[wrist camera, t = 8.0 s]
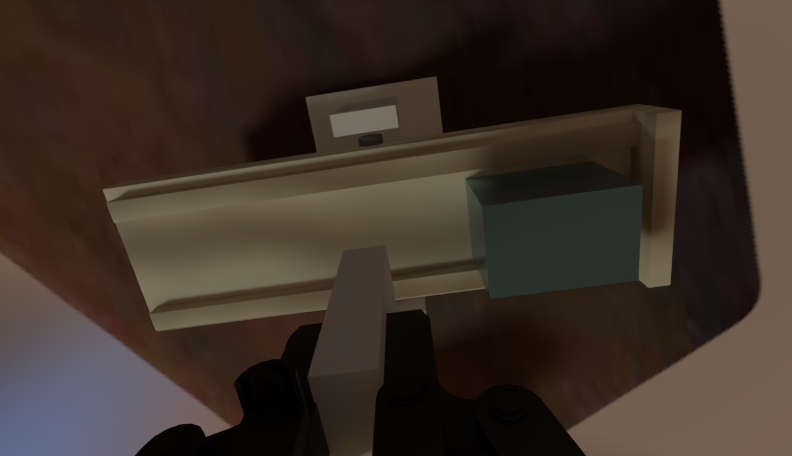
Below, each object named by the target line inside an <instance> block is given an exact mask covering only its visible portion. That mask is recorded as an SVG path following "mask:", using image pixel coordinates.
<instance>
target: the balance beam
mask: <svg viewBox="0 0 792 456" xmlns="http://www.w3.org/2000/svg"><path fill="white" fill-rule="evenodd" d="M681 114H682V110H676V109H669V108H662V107H656V106H649V105H642V104H634V105H627V106H620V107H614V108H607V109H601V110H594V111H587V112H581V113H574V114H568V115H561V116H554V117H548V118H541V119H534V120H528V121H521V122H515V123H508V124H501V125H495V126H488V127H482V128H475V129H468V130H462V131H455V132H449V133H442V134H435V135H429V136H422V137H415V138H409V139H402V140H396V141H389V142H383V138H382V134H370V135H365V136H361V137H359V138H358V141H359V146H356V147H349V148H343V149H336V150H330V151H323V152H316V153H310V154H303V155H296V156H290V157H283V158H277V159H270V160H263V161H257V162H250V163H244V164H237V165H230V166H224V167H217V168H211V169H204V170H197V171H191V172H184V173H177V174H171V175H164V176H158V177H151V178H144V179H138V180H131V181H125V182H120V183H117V184H115V185H113V186H110V187H108V188H105V189H103V192H104V194H105V197H106V199H107V203H106V204H107V206H108V209H109V211H110V214H111V216H112V219H113V222H114V223H116V225H117V228H118V230H119V233H120V236H121V238H122V241H123V243H124V246H125V249H126V251H127V254H128V256H129V259H130V261H131V264H132V267H133V269H134V272H135V274H136V277H137V280H138V282H139V285H140V287H141V290H142V293H143V295H144V298H145V300H146V303H147V305H148V308H149V311H150V314H149V315H150V317H151V320H152V322H153V325H154V327H155V330H156V331H165V330H173V329H180V328H188V327H196V326H203V325H211V324H218V323H226V322H233V321H241V320H249V319H256V318H264V317H271V316H279V315H286V314H294V313H302V312H309V311H317V310H324V309H327V306H328V303H329V299H330V296H331V292H332V289H333V285H334V282H335V278H336V275H337V271H338V268H339V264H340V261H341V257H342V254H343V251H344V250H351V249H359V248H366V247H373V246H380V245H386V248H387V254H388V260H389V265H390V271H391V277H392V283H393V289H394V294H395V300H400V299H408V298H415V297H423V296H430V295H438V294H445V293H453V292H461V291H468V290H476V289H483V288H485V286H484V284H483V281H482V279H481V276H480V274H479V271H478V269H477V266H476V264H475V261H474V259H473V256H472V249H471V238H470V227H469V217H468V206H467V195H466V184H465V179H466V178H473V177H480V176H487V175H494V174H502V173H509V172H516V171H523V170H530V169H538V168H545V167H552V166H559V165H566V164H574V163H581V162H588V161H594V162H596V163H598V164H601V165H603V166H605V167H607V168H609V169H611V170H613V171H616V172H618V173H620V174H622V175H624V176H626V177H628V178H630V179H633V180H635V181H637V182H639V183H641V184H643V197H642V218H641V240H640V261H639V280H640V281H641V282H642V283H644V284H645V285H646V286H647V287H648V288H650V287H658V286H665V285H670V280H671V265H672V249H673V234H674V219H675V204H676V189H677V174H678V159H679V144H680V129H681Z"/></svg>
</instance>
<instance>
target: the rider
mask: <svg viewBox="0 0 792 456" xmlns="http://www.w3.org/2000/svg"><path fill="white" fill-rule="evenodd" d="M465 184H466V195H467V206H468V217H469V227H470V238H471V249H472V256H473V259H474V261H475V264H476V266H477V269H478V271H479V274H480V276H481V279H482V281H483V284H484V286H485V289H486V291H487V294H488V296H489V299H492V298H500V297H508V296H516V295H524V294H532V293H540V292H548V291H556V290H564V289H572V288H580V287H588V286H596V285H604V284H612V283H620V282H628V281H636V280H639V261H640V240H641V218H642V197H643V184H641V183H639V182H637V181H635V180H633V179H630V178H628V177H626V176H624V175H622V174H620V173H618V172H616V171H613V170H611V169H609V168H607V167H605V166H603V165H601V164H598V163H596V162H594V161H588V162H581V163H574V164H566V165H559V166H552V167H545V168H538V169H530V170H523V171H516V172H509V173H502V174H494V175H487V176H480V177H473V178H466V179H465Z"/></svg>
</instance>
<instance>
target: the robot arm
mask: <svg viewBox="0 0 792 456" xmlns="http://www.w3.org/2000/svg"><path fill="white" fill-rule="evenodd" d="M234 386H235V389H236V391H237V394H238V397H239V400H240V403H241V406H242V409H243V412H244V416H243V419H242V421H241V423H240V424H238V425H236V426H234V427H232V428H229V429H227V430H224V431H221V432H218V433H216V434H213V435H210V436H207V437H206V436H205V434H204V432H203V430H202V429H201V427H200V426H197V425H194V424H181V425H177V426H175V427H172V428H169V429H166V430H165V431H163V432H161V433H160V434H158V435H156V436H155V437H153V438H152V439H151V440H150V441H149V442H148V443H147V444H145V445H144V446H143V447H142V448H141V449H140V451H139V452H138V453H137V454H136V455H135V456H586V455H585V454H584V453H583V451H582V450H581V449H580V448H579V447H578V445H577V444H576V443H575V441H574V440H573V439H572V438H571V437H570V435H569V434H568V433H567V431H566V430H565V429H564V428H563V426H562V425H561V424H560V423H559V421H558V420H557V419H556V417H555V416H554V415H553V414H552V412H551V411H550V410H549V409H548V407H547V406H546V405H545V404H544V402H543V401H542V400H541V399H540V398H539V397H538V396H537V395H536V394H535V393H533V392H532V391H531V390H528V389H526V388H524V387H521V386H517V385H509V384H505V385H498V386H493V387H491V388H489V389H487V390H485V391H483V392H482V394H481V395H480V396H479V397H478V398H477V400H470V399H464V398H460V397H456V396H454V395H452V394H450V393H448V392H447V391H446V390H444V389H443V388H442V387H441V385H440V384H439V382H438V375H437V367H436V360H435V353H434V346H433V339H432V332H431V325H430V318H429V317H428V316H427V315H426V314H425V313H424V311H423V310H422V309H416V310H408V311H401V312H397V306H396V300H395V294H394V289H393V283H392V277H391V271H390V265H389V260H388V254H387V248H386V245H380V246H373V247H366V248H359V249H351V250H344V251H343V254H342V257H341V261H340V264H339V268H338V271H337V275H336V278H335V282H334V285H333V289H332V292H331V296H330V299H329V303H328V306H327V310H326V314H325V317H324V321H323V323H318V324H310V325H302V326H300V327H299V328H298V329H297V330H296V331H295V332H294V333H293V334H292V335H291V336H290V337H289V339H288V342H287V344H286V347H285V352H283V355H282V357H281V359H272V360H268V361H264V362H260V363H258V364H256V365H254V366H252V367H250V368H249V369H247V370H246V371H245V372H243V373H242V374H241V375H240V376H239V377H238V378H237V380H236V381H235V382H234Z"/></svg>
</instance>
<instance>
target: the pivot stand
mask: <svg viewBox="0 0 792 456" xmlns="http://www.w3.org/2000/svg"><path fill="white" fill-rule="evenodd" d="M306 103H307V107H308V112H309V117H310V122H311V126H312V131H313V136H314V141H315V145H316V150H317V152H323V151H330V150H336V149H343V148H349V147H356V146H359V141H358V138H359V137H361V136H365V135H370V134H382V138H383V142H389V141H396V140H402V139H409V138H415V137H422V136H429V135H435V134H442V133H443V129H442V121H441V112H440V103H439V94H438V85H437V77H429V78H422V79H416V80H410V81H403V82H397V83H391V84H384V85H378V86H372V87H365V88H359V89H353V90H346V91H340V92H334V93H327V94H321V95H315V96H309V97H306ZM396 306H397V312H401V311H408V310H416V309H422V310H423V311H424V313H425V314H426V305H425V296H423V297H415V298H408V299H400V300H396Z"/></svg>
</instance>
